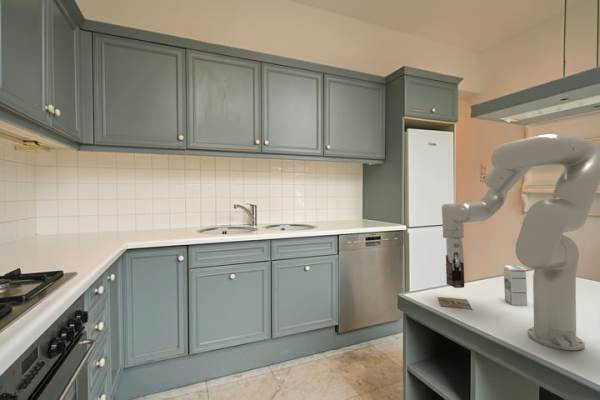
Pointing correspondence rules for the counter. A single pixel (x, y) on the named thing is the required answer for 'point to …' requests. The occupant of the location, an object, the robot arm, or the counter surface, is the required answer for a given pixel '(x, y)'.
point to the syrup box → (515, 285)
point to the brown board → (454, 303)
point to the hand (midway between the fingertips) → (455, 277)
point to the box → (449, 275)
